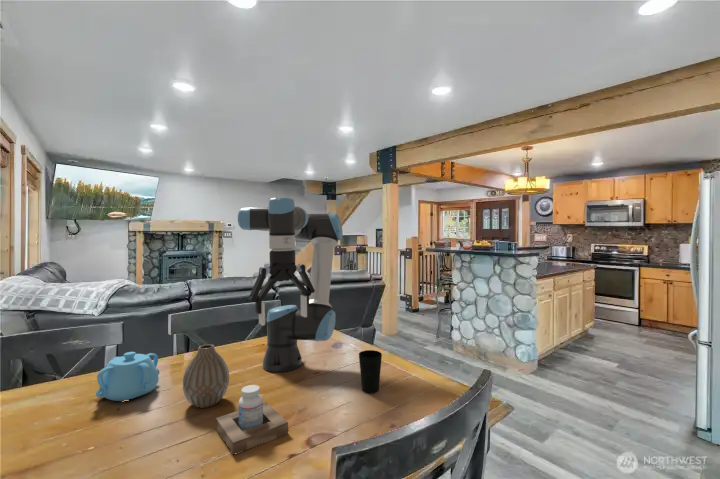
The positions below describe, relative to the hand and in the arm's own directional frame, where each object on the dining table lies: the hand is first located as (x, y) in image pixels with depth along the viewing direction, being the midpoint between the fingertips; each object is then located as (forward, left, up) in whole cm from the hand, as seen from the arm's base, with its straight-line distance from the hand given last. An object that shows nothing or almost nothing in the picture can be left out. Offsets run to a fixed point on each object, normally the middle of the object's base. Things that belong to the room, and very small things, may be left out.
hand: (283, 320), depth 102 cm
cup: (+8, +27, -26) cm, 39 cm away
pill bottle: (+6, -13, -26) cm, 30 cm away
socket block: (+7, -13, -26) cm, 30 cm away
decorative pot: (-39, -36, -26) cm, 59 cm away
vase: (-17, -18, -26) cm, 36 cm away
